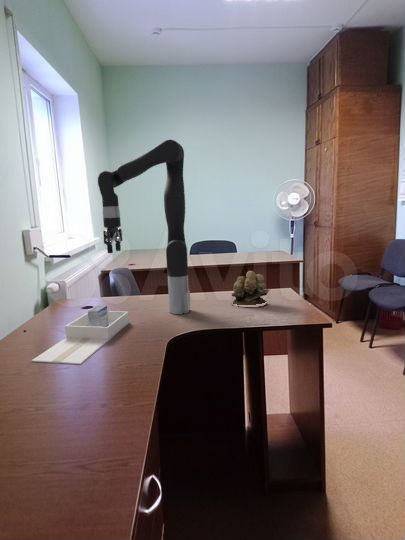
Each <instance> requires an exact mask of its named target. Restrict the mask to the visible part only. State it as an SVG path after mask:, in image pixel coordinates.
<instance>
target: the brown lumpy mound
mask: <svg viewBox="0 0 405 540" xmlns="http://www.w3.org/2000/svg"><path fill="white" fill-rule="evenodd" d="M265 288H266V283H265V277H264V275H263V274H260V273H257V274H256V272H254V271H253V270H248V271H247V272H246V275H245V276H241V275H240V276H238V277H237V279H236V281H235V283H234V284H233V293H231V296H232V297H234V298H235V299H233V301H232V302H233V304H237V305H256V304H262V303H265V302H267V301H266V300H265V299H264V298H263V297H264V296H267V295H268V293H269V292H270V289H267V288H266V289H265Z"/></svg>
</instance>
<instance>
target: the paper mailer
mask: <svg viewBox="0 0 405 540" xmlns="http://www.w3.org/2000/svg"><path fill="white" fill-rule="evenodd" d="M107 311H108V322H109V326H107V327H94V326H89V319H88V312H87V313H85V314H82V315H81V316H79V317H78V318H76V319H74V320H73V321H71V322H69V323H67V324H66V325H65V326H64V329H65V338H64V339H62V340H61V341H58V342H57V343H56V344H54V345H53V346H51V347H50V348H49V349H46V350H45V351H44V352H42V353H40V354H39V355H38V356H36V357H34V358H33V359H31V362H33V363H50V364H65V365H67V364H68V365H70V364H71V365H82V364H84V362H85V361H86V360H88V359H89V358H90V357H91V356H93V355H94V354H95V353H96V352H97V351H99V349H101V348H102V347H103V346H104V345H105V344H107V343H108V342H109V341H110V340H111V339H112V338H113V337H116V335H117V334H118V333H120V332H121V331H122V330H123V329H124V328H126V326H129V324H130V312H129V311H123V310H121V311H118V310H117V311H116V310H107Z"/></svg>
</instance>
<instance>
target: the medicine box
mask: <svg viewBox="0 0 405 540" xmlns="http://www.w3.org/2000/svg"><path fill="white" fill-rule="evenodd" d="M108 311H109V310H108V306H107V305H97V306H95V307H93V308H92V309H89V311H87V313H88V319H89V326H94V327H107V326H109V322H108Z"/></svg>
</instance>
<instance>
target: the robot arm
mask: <svg viewBox="0 0 405 540" xmlns="http://www.w3.org/2000/svg"><path fill="white" fill-rule="evenodd" d="M184 159H185V150H184V148H183V146H182V145H181V144H180V143H179V142H178V141H176V140H173V139H166V140H164V141H162V142H161V143H160V144H158V145H157V146H155V147H154V148H152V149H151V150H149V151H148V152H146V153H144V154H142V155H140V156H138V157H136V158H134V159H131V160H129V161H127V162H125V163H122V164H120V165H119V166H118V167H117V169H115V170H112V171H109V170H102V171H101V172H99V174H98V176H97V185H98V189H99V192H100V195H101V199H102V200H101V202H102V220H103V227H104V228H105V229H106V230H103V231H102V234H103V245H106V248H107V251H106V252H107V253H108V254H113V253H114V252H113V251H114V249H113V243H114V242H115V244H114V245H115V251H117V252H120V251H122V249H121V242H123V231H122V228H120V227H121V226H122V225H121V212H120V207H119V205H120V204H119V196H118V194H117V193H115V190H114V189H115V188H117V187H119V186H121V185H122V184H124V183H126V182H127V181H129V180H132V179H135V178H137V177H139V176H141V175H142V174H144V173H146V172H147V171H148V170H150V169H152V168H153V167H156V166H158V165H161V164H165V166H166V180H165V181H166V182H165V187H164V190H163V191H164V192H163V205H164V214H165V220H166V225H167V245H166V248H165V258H166V271H167V288H168V290H167V291H168V305H169V307H168V308H169V313H170V314H172V315H183V313H184V314H189V312H190V311H191V310H190V309H191V292H190V289H189V288H190V287H189V267H188V266H189V265H188V248H187V245H186V244H187V243H186V237H185V235H186V234H185V221H186V220H185V219H186V218H185V217H186V197H185V196H186V194H185V184H184V183H185V182H184V165H185V164H184V163H185V162H184V161H185V160H184ZM189 310H190V311H189Z"/></svg>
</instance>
